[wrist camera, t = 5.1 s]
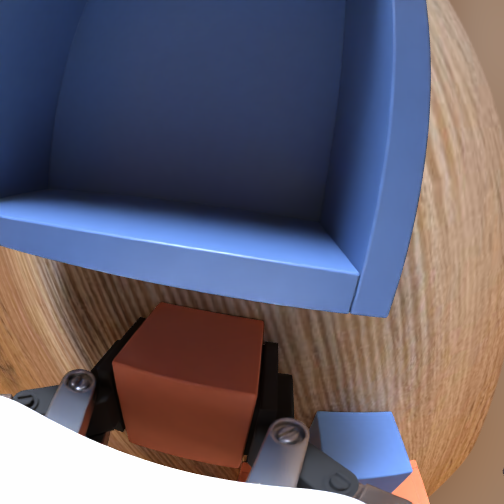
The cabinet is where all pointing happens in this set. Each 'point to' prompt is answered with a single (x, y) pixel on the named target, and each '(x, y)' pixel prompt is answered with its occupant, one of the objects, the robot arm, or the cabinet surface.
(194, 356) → the terracotta block
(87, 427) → the robot arm
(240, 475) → the terracotta bin
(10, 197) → the blue bin
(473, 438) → the cabinet surface
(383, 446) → the blue block
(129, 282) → the cabinet surface
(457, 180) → the cabinet surface
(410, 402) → the cabinet surface
